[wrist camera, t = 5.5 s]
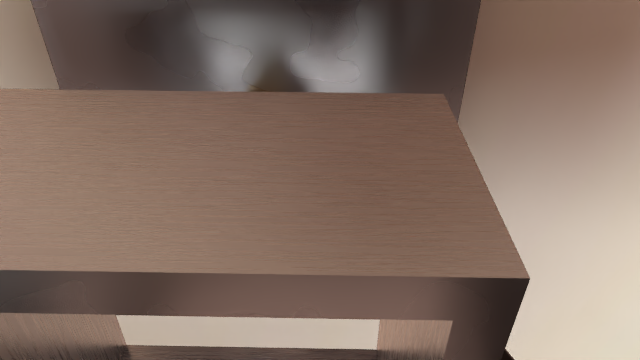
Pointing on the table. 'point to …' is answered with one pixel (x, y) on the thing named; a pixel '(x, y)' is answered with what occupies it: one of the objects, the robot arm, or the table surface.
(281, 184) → the box
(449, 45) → the shaft stub
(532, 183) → the table surface
